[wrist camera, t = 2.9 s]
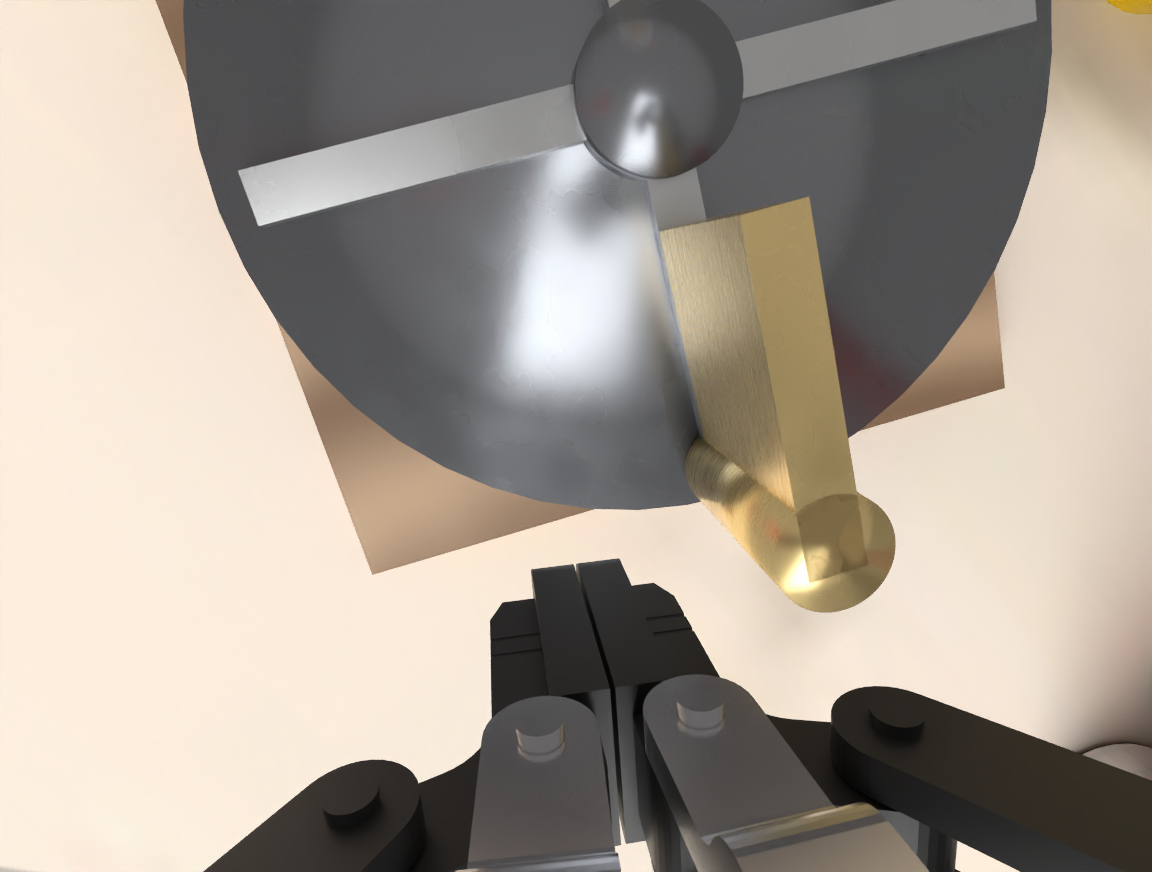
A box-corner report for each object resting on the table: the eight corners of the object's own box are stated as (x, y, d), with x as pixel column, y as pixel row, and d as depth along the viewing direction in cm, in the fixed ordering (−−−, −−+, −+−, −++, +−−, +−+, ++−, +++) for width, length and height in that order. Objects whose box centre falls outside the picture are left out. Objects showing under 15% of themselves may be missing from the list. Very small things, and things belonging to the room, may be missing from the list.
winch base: (980, 397, 29) (1071, 421, 25) (384, 573, 28) (364, 633, 23) (896, -412, 22) (1001, -587, 18) (84, -231, 21) (-29, -371, 16)
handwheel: (1049, 396, 24) (1324, 460, 16) (379, 595, 23) (321, 771, 15) (980, -506, 18) (1381, -1133, 10) (39, -302, 16) (-382, -838, 8)
